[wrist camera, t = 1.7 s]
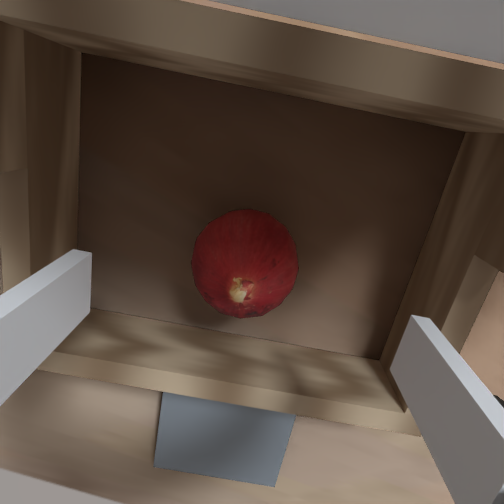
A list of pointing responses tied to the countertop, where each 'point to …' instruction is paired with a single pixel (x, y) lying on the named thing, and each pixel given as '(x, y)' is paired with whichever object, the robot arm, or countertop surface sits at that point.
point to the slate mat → (221, 439)
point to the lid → (404, 21)
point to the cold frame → (266, 78)
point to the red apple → (244, 263)
